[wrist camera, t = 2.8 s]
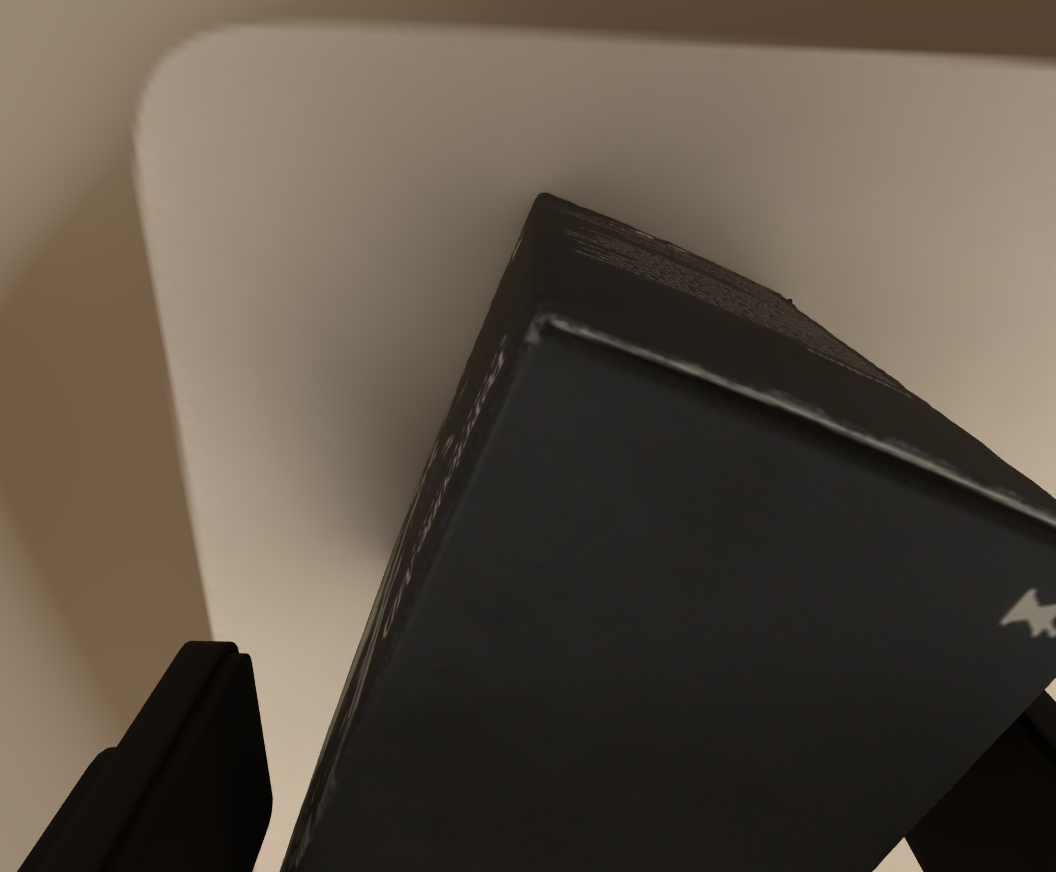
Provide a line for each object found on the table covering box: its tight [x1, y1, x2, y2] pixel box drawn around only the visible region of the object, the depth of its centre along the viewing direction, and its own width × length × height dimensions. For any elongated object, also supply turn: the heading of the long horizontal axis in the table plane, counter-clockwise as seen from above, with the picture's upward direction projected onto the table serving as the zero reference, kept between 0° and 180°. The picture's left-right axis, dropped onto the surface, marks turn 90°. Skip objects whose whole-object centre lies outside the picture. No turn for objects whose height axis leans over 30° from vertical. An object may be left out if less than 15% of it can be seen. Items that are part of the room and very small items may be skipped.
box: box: [280, 193, 1056, 872], centre depth 12 cm, size 11×7×10 cm, turn 158°
